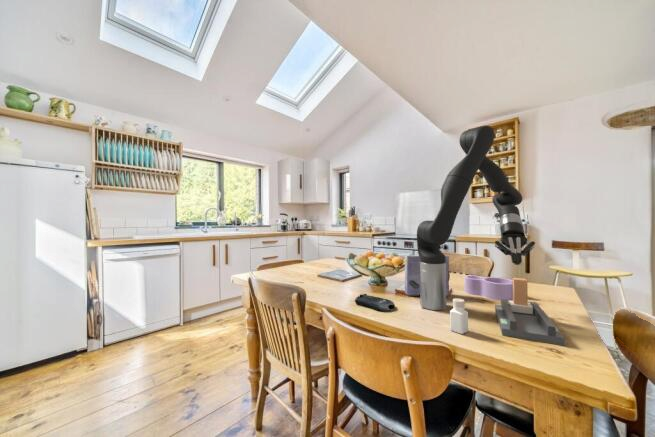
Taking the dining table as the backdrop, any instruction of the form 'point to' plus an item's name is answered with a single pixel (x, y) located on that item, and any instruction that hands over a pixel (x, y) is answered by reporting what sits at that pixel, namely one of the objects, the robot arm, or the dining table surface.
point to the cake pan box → (418, 275)
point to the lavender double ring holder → (489, 287)
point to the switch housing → (528, 324)
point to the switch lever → (520, 297)
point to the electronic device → (374, 302)
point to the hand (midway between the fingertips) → (517, 263)
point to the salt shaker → (458, 317)
